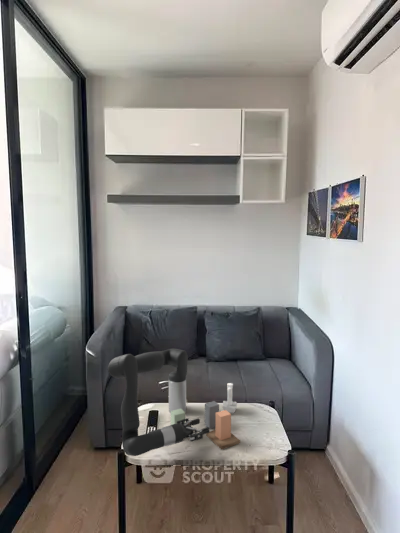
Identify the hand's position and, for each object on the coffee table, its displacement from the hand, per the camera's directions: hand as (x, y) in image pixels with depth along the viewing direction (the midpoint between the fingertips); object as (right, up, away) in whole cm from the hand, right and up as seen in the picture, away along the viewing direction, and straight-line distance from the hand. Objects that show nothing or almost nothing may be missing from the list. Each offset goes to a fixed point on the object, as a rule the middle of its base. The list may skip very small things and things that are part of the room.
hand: (204, 425), depth 166 cm
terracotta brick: (+9, -7, +6) cm, 13 cm away
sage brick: (-12, -9, +10) cm, 18 cm away
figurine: (+14, -7, +33) cm, 36 cm away
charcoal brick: (+4, -8, +18) cm, 20 cm away
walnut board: (+9, -9, +6) cm, 14 cm away
